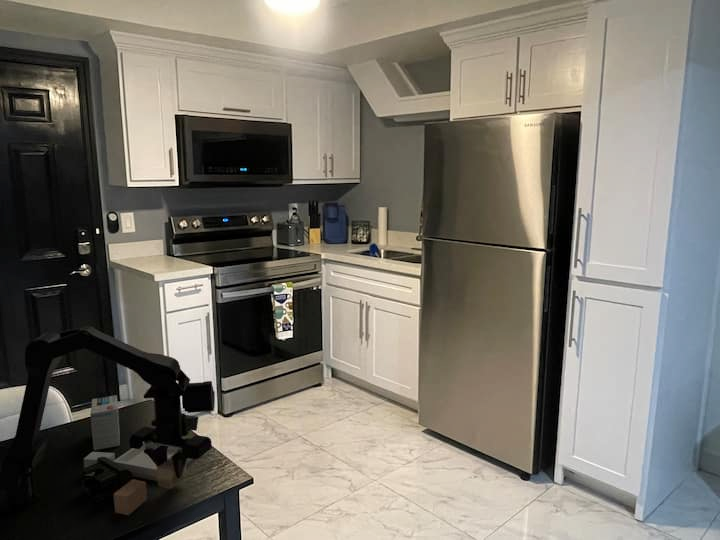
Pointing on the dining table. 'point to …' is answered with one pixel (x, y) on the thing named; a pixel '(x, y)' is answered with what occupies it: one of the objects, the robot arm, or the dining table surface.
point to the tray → (143, 462)
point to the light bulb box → (105, 422)
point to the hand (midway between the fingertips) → (172, 476)
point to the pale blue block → (93, 459)
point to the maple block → (168, 474)
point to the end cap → (105, 479)
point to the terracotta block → (130, 497)
